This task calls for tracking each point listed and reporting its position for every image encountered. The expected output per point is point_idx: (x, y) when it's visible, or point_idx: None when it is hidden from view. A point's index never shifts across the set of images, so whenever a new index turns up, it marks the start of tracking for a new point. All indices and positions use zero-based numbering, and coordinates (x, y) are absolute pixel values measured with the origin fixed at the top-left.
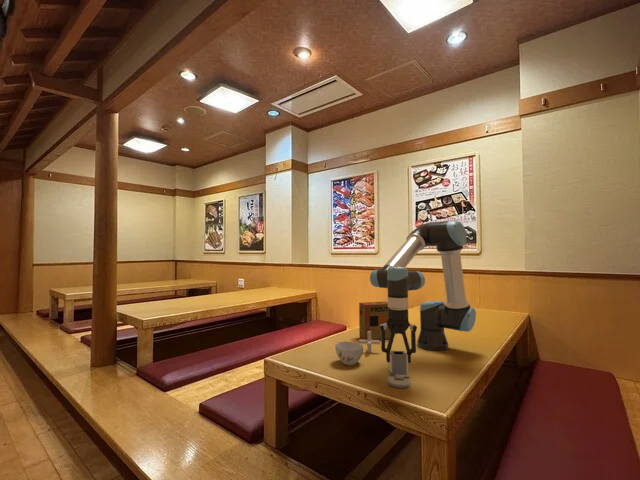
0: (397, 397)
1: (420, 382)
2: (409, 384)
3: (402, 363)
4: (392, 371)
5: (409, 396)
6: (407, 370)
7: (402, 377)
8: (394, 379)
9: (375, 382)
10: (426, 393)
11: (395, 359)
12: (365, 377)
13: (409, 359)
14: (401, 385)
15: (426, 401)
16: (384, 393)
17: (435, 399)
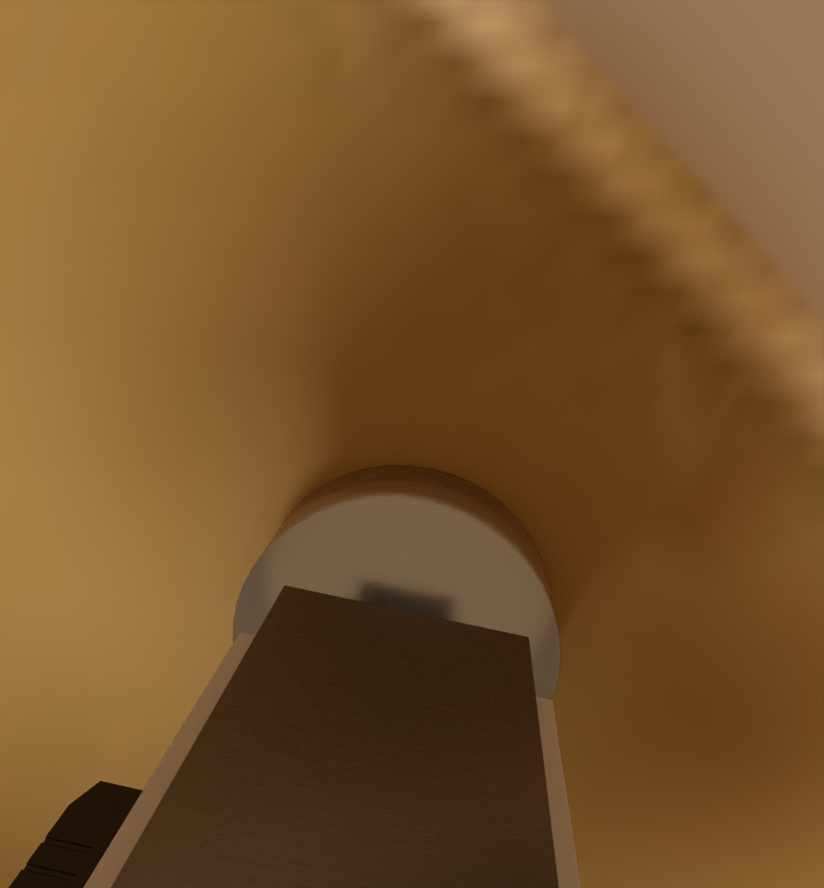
0: (573, 203)
1: (119, 613)
2: (282, 525)
3: (298, 751)
4: (529, 676)
5: (385, 222)
6: (232, 664)
7: None
8: (486, 596)
9: (697, 689)
10: (124, 296)
11: (471, 883)
12: (769, 836)
13: (66, 862)
14: (412, 482)
15: (190, 31)
16: (715, 353)
17: (48, 92)
